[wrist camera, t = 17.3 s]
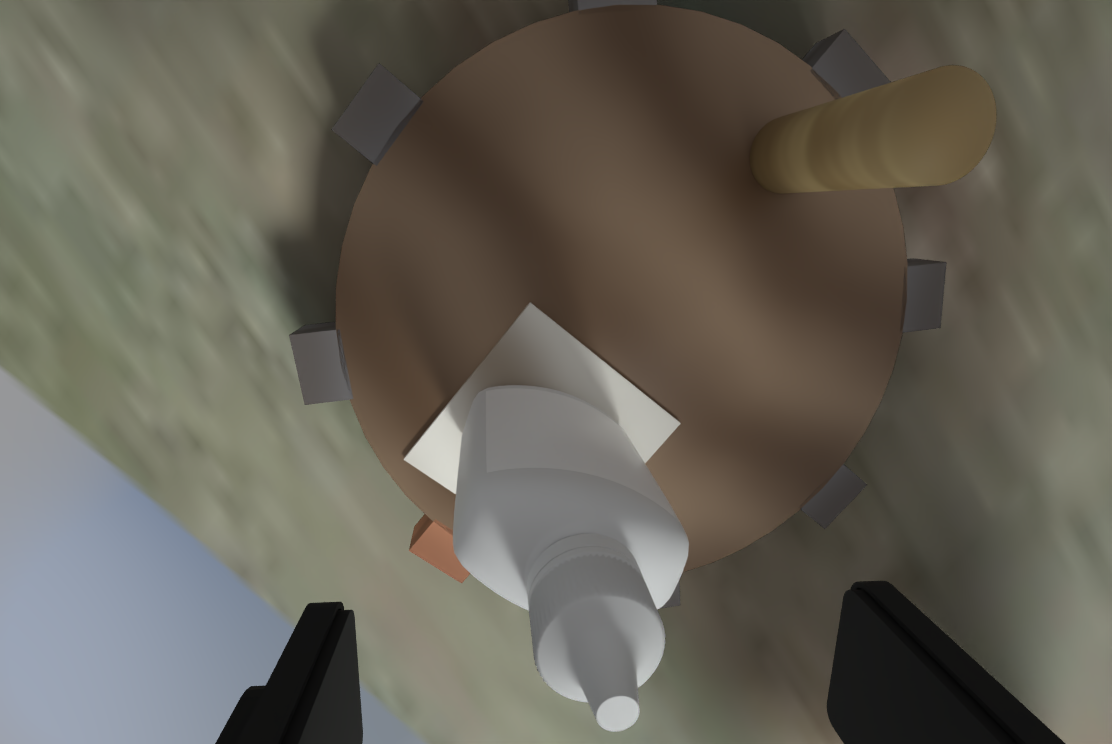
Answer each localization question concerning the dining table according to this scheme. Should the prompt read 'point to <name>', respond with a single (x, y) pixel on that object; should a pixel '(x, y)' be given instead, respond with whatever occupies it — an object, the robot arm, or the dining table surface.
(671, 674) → the dining table surface
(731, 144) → the sprocket
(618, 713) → the eye dropper bottle
